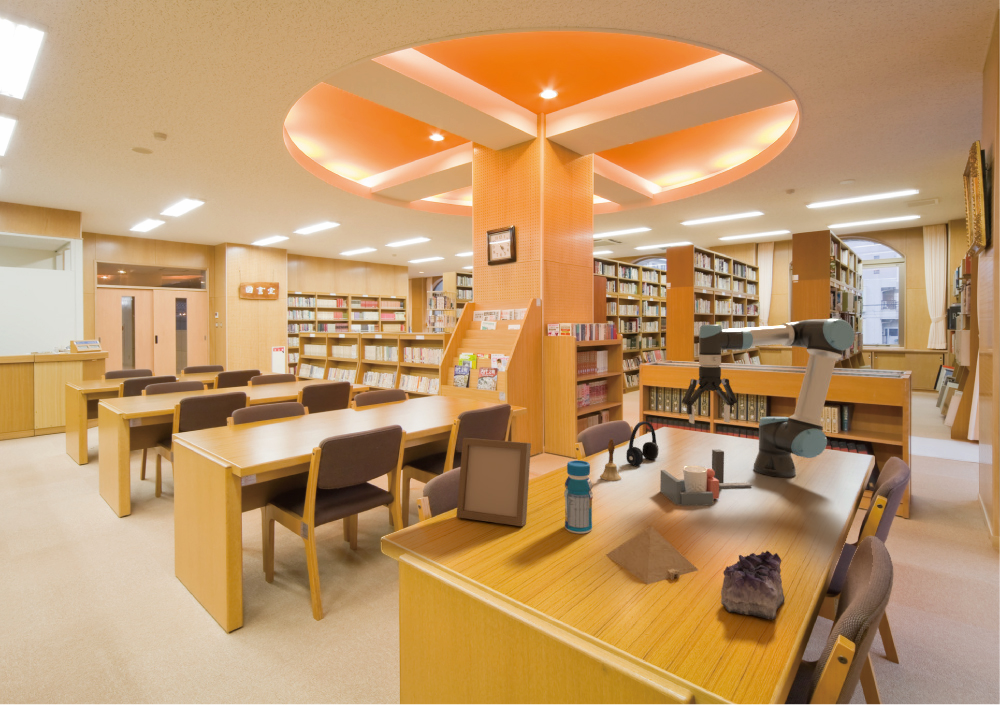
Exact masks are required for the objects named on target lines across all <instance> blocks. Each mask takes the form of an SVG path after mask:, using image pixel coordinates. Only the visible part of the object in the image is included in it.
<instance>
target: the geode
mask: <svg viewBox="0 0 1000 705" xmlns="http://www.w3.org/2000/svg"><path fill="white" fill-rule="evenodd" d="M781 563H782V558H781V557H780V555H779V554H778V553H777V552H776V553H774V554H772V553H771V552H770V551H768V550H766V551H765V552H764V551H762V552H761V553H760V554H756V553H754V552H751V553H750V554H749V555H746V556H743V555H742V554H738V560H737V562H736V563H734V564H732V565H729V566H726V567H725V569H724V570H723V572H722V573H723V575H724V578H723V582H722V586H721V587H722V588H721V590H720V592H721V593H720V594H721V597H720V598H721V600H720V601H721V602H720V603H721V605H722V606H723V607H724V608H725V610H726V611H727V612H728V613H737V614H740V615H745V616H747V615H749V616H753V617H759V618H762V619H766V620H776V618H777V609H780V607H781V605H783V604H784V603H785V595H784V588H783V582H782V581H783V580H782V575H781V571H782V570H781Z"/></svg>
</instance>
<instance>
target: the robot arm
mask: <svg viewBox="0 0 1000 705" xmlns="http://www.w3.org/2000/svg"><path fill="white" fill-rule="evenodd" d="M698 333H699V334H698V339H699V340H698V343H699V347H698V352H699V354H698V364H699V367H698V376H699V378H698V379H694V378H691V379H690V383H689V386H688V388H687V390H686V393H685V394H684V396H683V398H682V400H681V403H682V404H684V405H686V413H687V415H688V422H689V423H690V424H693V425H694V424H695V405H694V404H695V402H697V400H698V399H699V397H701V395H702V394H703V393H704V392H711V391H712V392H716V394H718V395H719V396H720V398H721V399H722V400H723V402H725V403H726V404H724V405H723V407H724V408H723V422H724V423H727V424H730V422H731V414H732V413H733V406H734V404H737V403H738V400H737V397H736V396H735V393H734V391H733V389H732V387H731V385H730V379H729V378H725V377H724V378H722V379H721V376H722V367H721V366H722V351H729V350H730V351H732V350H733V351H734V350H736V351H737V350H739V351H744V350H748V349H751V347H756V346H758V347H759V346H760V347H761V346H773V345H775V346H776V345H781V346H783V347H798V348H800V347H801V348H804V349H805V348H806V352H807V353H808V354H809V356H808V359H807V360H808V361H807V364H806V367H805V372H804V376H803V379H802V382H801V387H800V391H799V394H798V398H797V401H796V402H797V403H796V404H795V405H796V406H795V410H794V413H793V414H792V415H790V416H788V417H787V416H763V417H761V418H760V419H759V422H758V424H759V425H758V453H757V456H756V458H755V460H754V462H753V470H754V471H755V472H757V473H758V474H762V475H765V476H770V477H776V478H777V477H779V478H789V477H790V478H791V477H794V476H796V474H797V473H796V472H797V471H796V466H795V463H794V461H793V458H792V455H794V456H797V457H800V458H805V459H814V458H816V457H817V456H820V455H821V454H822V453H823V452H824V451H825V449H826V447H827V444H828V439H827V437H826V436H827V435H826V434H825V432H823V428H824V425H823V424H822V422H821V418H822V414H823V410H824V407H825V403H826V399H827V395H828V391H829V387H830V383H831V379H832V376H833V372H834V369H835V364H836V361H837V360H839V359H840V358H842V357H843V354H844V351H846V350H848V349H849V348H850V347H851V348H852V346H853V344H854V343H855V338H856V337H855V335H856V333H855V330H854V328H853V327H852V324H850V323H849V322H848V321H846V320H844V319H840V318H832V317H831V318H822V319H821V318H820V319H805V320H798V321H792V322H786V323H785V322H783V323H781V324H779V325H773V326H772V325H770V326H756V327H740V328H739V327H738V328H722V325H721V324H702V325H700V327H699V332H698ZM721 385H722V386H723V388H724V390H725V392H726V393H725V392H724V390H723V389H722V387H721ZM697 386H698V387H697ZM696 387H697V388H696ZM695 390H696V391H695Z"/></svg>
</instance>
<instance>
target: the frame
mask: <svg viewBox="0 0 1000 705" xmlns="http://www.w3.org/2000/svg"><path fill="white" fill-rule="evenodd" d="M659 485H660V486H659V488H660V493H661V494H662V495H664V496H665V497H666V498H668V499H669V501H671V502H672V503H674V504H675V505H676V506H683V507H684V506H704V505H705V506H709V505H711V506H713V505H714V499H713V493H712V492H686V491H685V484H684V478H683V479H678V478H676V477H675V476H674V475H672V474H671V473H670V472H668V471H667V470H666V469H660V484H659Z"/></svg>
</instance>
